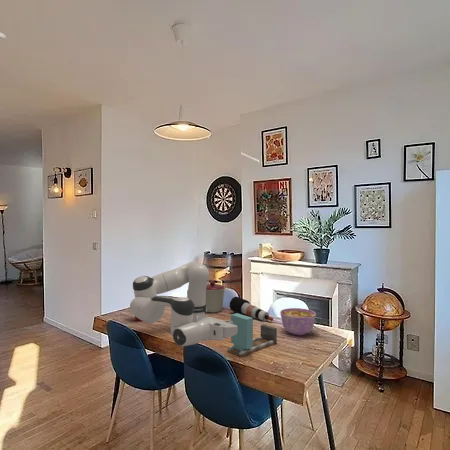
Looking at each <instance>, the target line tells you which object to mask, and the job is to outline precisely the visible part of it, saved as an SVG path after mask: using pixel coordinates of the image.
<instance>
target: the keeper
mask: <svg viewBox="0 0 450 450" xmlns="http://www.w3.org/2000/svg"><path fill="white" fill-rule="evenodd" d="M253 320H254V317H251V316H248V315H241V314H239V313H236V312H235V313H232V314H230V321H232V322H233V325H237V327H238V333H237V334H236V335H234V336H232V337H230V343H231V344H233V346H234V349H236V350H238V351H244V350H247V349H249V348H252V347H253V339H254V333H253V332H254V330H253V329H254V321H253Z"/></svg>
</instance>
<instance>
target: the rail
mask: <svg viewBox="0 0 450 450" xmlns="http://www.w3.org/2000/svg"><path fill="white" fill-rule="evenodd" d="M277 329H278V328H277V327H273V326H271V325H267V324H260V336H259V337H255V338H253V347H252V348H249V349H247V350H244V351H238V350H236V349H234V345H232V346H229V347H227V348H228V349H227V352H228V353H229V354H230V353H231V354H233V355H235V356H237V357H239V358H243V357H245V356H247V355H250V354H253V353H256V352H258V351H261V350H264V349H266V348H269V347H272V346H274V345H277V344H278V342H277V341H278V340H277V339H278V338H277V337H278V335H277V334H278V333H277V332H278V331H277Z"/></svg>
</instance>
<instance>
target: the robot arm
mask: <svg viewBox="0 0 450 450" xmlns="http://www.w3.org/2000/svg"><path fill="white" fill-rule="evenodd" d="M209 277H210V272H209V269H208V267H207V266H206V265H205V264H203V263H200V262H198V261H194V260H193V261H190V262H188V263H185V264H182V265H180V266H179V267H176V268H173V269H170V270H167V271H164V272H161V273H159V274H156V275H153V276H152V277H150V276H147V275H141V276H138V277H137V278H135V279H134V280H133V282H132V289H133V293H134V298H133V299H132V300H130V301H131V302H130V303H129V310H130V312H131V313H132V314H133V316H134V315H135V316H136V317H137V318H138V319H140V320H142V321H141V322H144V323H146V324H154V323H156V322H159V320H160V319H161V318H162V317H163V315H164V312H165V309H166V307H170V311H171V318H170V319H171V320H170V321H171V322H170V328H169V330H170V335H171V336H172V338H173V339H172V340H173V341H174V343H175V345H177V346H179V347H186V346H187V347H188V346H192V345H197V344H199V343H200V342H205V341H212V340H213V341H217V342H220V341H224V339H229V338H231V337H232V336H234V335H236V334H237V333H238V327H237V325H233V322H232V321H231V320H229V319H227V320H221V319H218V318H215V317H212V316H207V313H208V312H207V306H206V287H207V284H208V279H209ZM186 284H188V285H187V286H188V287H187V291H186V294H187V295H186V297H185V296H184V297H183V296H182V297H181V296H180V297H178V296H177V297H176V296H169V295H160V294H164V293H168V292H171V291H173V290H176V289H180V288H181V287H183V286H184V285H186ZM135 316H134V317H135Z"/></svg>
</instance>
